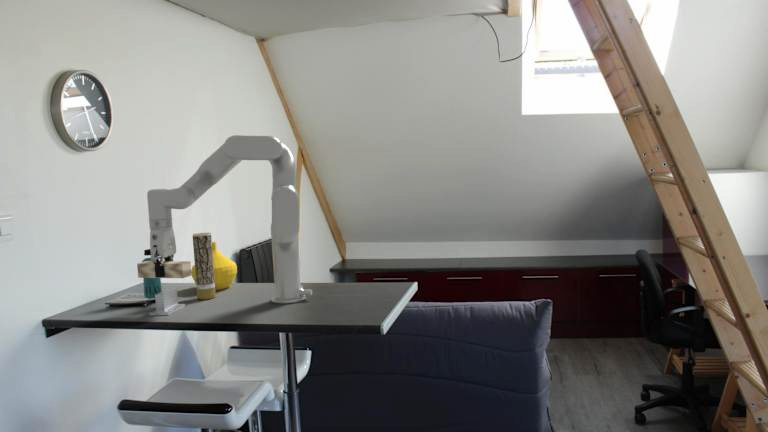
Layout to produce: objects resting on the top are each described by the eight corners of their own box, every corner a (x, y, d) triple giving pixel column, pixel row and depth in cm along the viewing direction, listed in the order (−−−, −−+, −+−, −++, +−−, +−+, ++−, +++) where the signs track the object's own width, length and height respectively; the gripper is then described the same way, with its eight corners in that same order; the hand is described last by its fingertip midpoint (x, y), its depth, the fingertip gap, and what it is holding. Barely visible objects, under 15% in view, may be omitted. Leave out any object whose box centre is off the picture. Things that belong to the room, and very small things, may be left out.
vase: (182, 292, 239) (179, 245, 238) (212, 282, 256) (209, 239, 254) (219, 294, 232) (215, 246, 230) (247, 284, 249) (244, 239, 247)
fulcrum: (184, 306, 213) (183, 287, 213) (168, 315, 201) (167, 295, 201) (166, 306, 214) (165, 287, 214) (149, 315, 202) (148, 295, 202)
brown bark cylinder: (210, 300, 222) (205, 234, 220) (194, 300, 223) (189, 235, 221) (218, 296, 228) (214, 232, 226) (202, 296, 230) (198, 232, 228)
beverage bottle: (143, 303, 221) (139, 251, 220) (145, 299, 228) (141, 248, 226) (161, 301, 223) (157, 249, 221) (163, 298, 229) (159, 247, 228)
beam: (191, 275, 207) (190, 261, 206) (183, 278, 202) (182, 263, 202) (147, 274, 211) (146, 261, 211) (138, 277, 207) (137, 263, 206)
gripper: (158, 226, 196) (162, 280, 198) (182, 221, 213) (185, 270, 215) (137, 227, 197) (141, 280, 199) (162, 222, 214) (166, 271, 216)
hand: (164, 274), depth 207 cm, fingers closed on beam, 5 cm apart
